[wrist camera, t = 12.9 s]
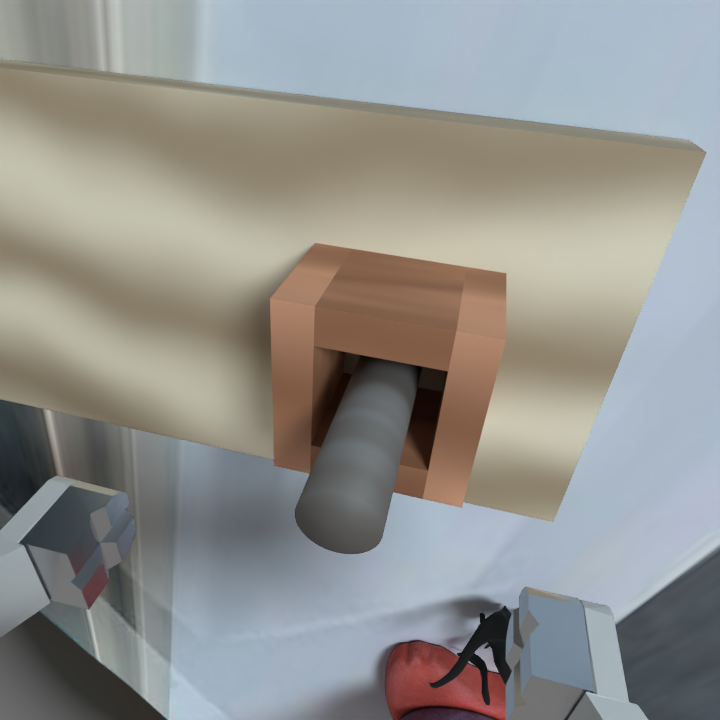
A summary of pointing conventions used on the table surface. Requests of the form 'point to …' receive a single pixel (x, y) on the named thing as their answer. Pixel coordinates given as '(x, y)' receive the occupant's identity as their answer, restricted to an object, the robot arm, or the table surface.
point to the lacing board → (288, 247)
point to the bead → (388, 356)
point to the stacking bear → (444, 704)
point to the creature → (495, 635)
